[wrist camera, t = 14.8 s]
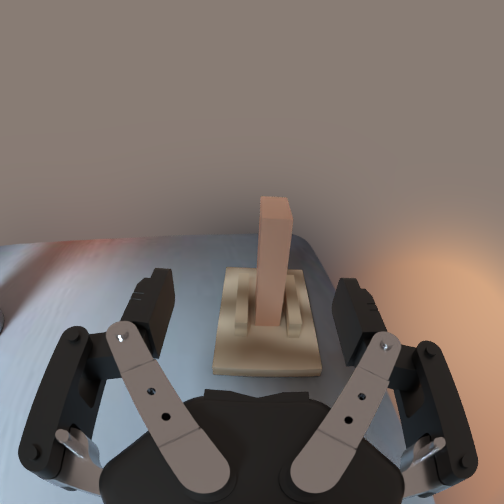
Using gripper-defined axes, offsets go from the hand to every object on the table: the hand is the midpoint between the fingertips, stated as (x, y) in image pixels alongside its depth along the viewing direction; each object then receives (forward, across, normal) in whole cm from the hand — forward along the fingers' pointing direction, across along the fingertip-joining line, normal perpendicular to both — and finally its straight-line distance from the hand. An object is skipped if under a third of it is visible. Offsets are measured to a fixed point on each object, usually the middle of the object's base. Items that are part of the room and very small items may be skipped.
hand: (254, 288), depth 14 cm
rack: (+12, -2, +14) cm, 19 cm away
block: (+12, -2, +13) cm, 18 cm away
